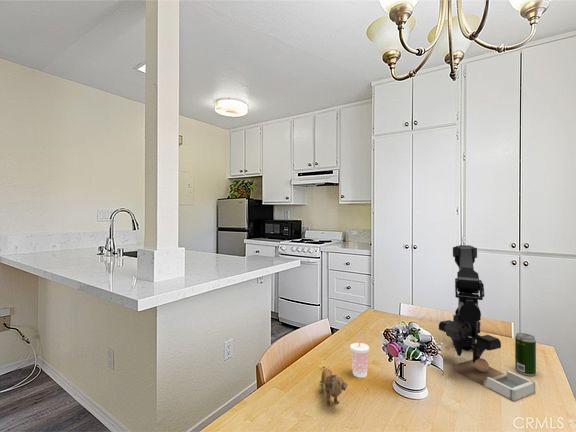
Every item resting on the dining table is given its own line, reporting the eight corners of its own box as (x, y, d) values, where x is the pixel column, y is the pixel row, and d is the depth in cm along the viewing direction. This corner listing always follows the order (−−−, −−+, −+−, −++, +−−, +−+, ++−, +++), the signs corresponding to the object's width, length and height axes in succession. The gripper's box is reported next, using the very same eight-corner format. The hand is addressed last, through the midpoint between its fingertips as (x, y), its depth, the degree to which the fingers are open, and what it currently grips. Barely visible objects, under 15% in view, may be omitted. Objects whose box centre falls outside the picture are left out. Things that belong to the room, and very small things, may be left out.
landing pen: (486, 387, 92) (486, 377, 92) (508, 380, 96) (508, 370, 96) (513, 401, 85) (513, 390, 85) (535, 392, 89) (535, 382, 89)
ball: (469, 365, 100) (474, 357, 99) (478, 362, 102) (483, 354, 100) (480, 376, 97) (485, 367, 95) (488, 373, 99) (494, 364, 97)
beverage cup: (372, 373, 101) (372, 331, 101) (363, 381, 96) (363, 336, 96) (356, 367, 105) (356, 326, 105) (346, 374, 100) (346, 331, 100)
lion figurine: (350, 411, 82) (349, 377, 82) (331, 415, 80) (331, 380, 80) (327, 382, 96) (327, 353, 96) (311, 385, 94) (311, 356, 94)
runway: (453, 369, 103) (453, 365, 103) (473, 363, 107) (473, 359, 107) (486, 387, 92) (486, 382, 92) (508, 380, 96) (508, 375, 96)
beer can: (532, 378, 97) (532, 340, 97) (512, 371, 101) (512, 335, 101) (538, 373, 100) (538, 336, 100) (519, 366, 104) (519, 331, 104)
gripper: (427, 307, 108) (426, 351, 109) (478, 325, 91) (476, 378, 91) (450, 304, 113) (449, 346, 113) (502, 321, 95) (501, 371, 96)
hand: (467, 359), depth 103 cm, fingers open, 5 cm apart
